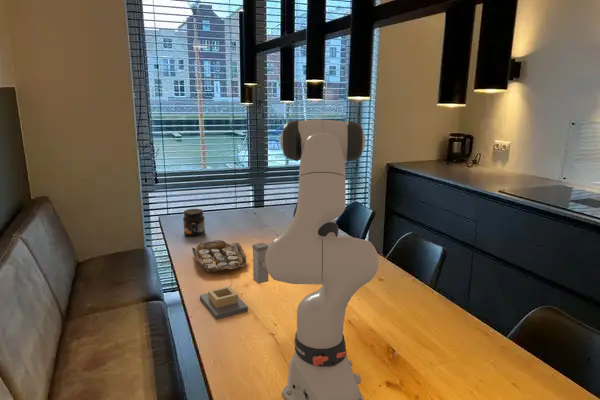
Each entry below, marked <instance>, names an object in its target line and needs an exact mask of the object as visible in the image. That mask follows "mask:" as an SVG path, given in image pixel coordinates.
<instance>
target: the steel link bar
mask: <svg viewBox="0 0 600 400" xmlns="http://www.w3.org/2000/svg"><path fill="white" fill-rule="evenodd" d="M268 247H269V246H268V245H266V243H265V242H259V243H254V244H253V243H252V247H251V248H252V271H253V274H252V275H253V277H252V278H253V279H252V280H253V281H254V282H255V283H256V284H262V283H263V284H264V283H267V282H269V273H268V271H267V269H266V267H262V266H261V261H264V260H265V255H266V251H267V249H268Z"/></svg>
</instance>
